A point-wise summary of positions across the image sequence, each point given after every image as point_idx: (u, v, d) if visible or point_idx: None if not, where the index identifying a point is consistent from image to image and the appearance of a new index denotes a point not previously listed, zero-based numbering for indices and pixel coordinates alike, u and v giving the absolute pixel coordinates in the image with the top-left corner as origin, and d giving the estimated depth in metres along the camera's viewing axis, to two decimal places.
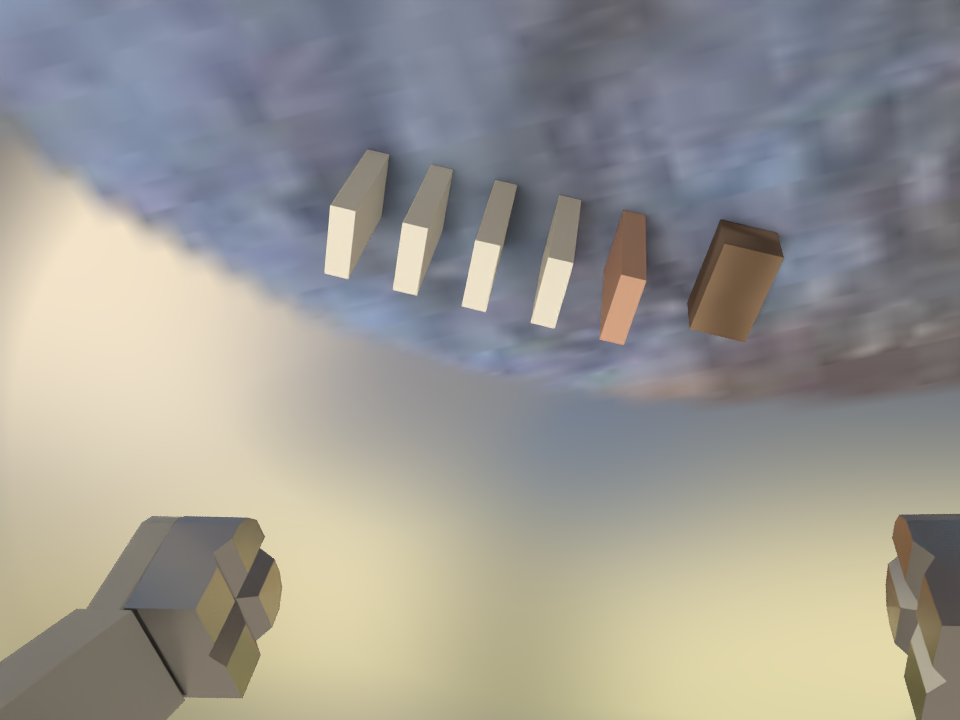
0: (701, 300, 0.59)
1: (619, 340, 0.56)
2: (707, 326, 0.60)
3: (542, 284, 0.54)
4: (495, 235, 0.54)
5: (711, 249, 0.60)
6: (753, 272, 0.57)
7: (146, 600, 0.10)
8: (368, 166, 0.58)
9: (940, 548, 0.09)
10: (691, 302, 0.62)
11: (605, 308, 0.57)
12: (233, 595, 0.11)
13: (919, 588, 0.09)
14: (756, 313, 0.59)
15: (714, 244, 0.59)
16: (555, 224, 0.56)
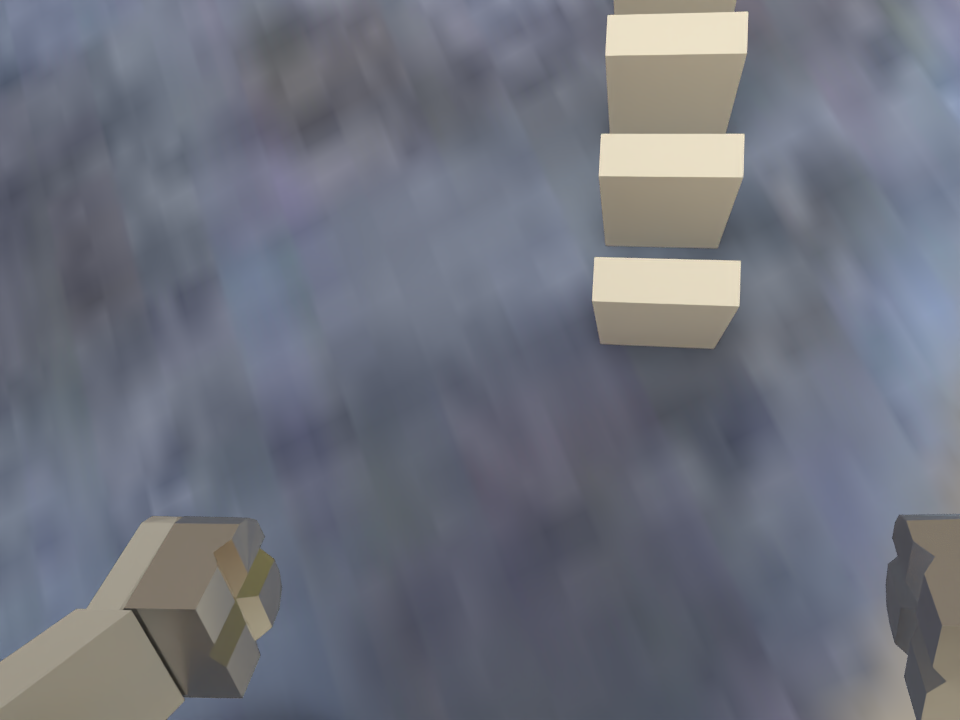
0: None
1: None
2: None
3: None
4: None
5: None
6: None
7: (146, 600, 0.10)
8: None
9: (940, 548, 0.09)
10: None
11: None
12: (233, 595, 0.11)
13: (919, 588, 0.09)
14: None
15: None
16: (614, 4, 0.37)
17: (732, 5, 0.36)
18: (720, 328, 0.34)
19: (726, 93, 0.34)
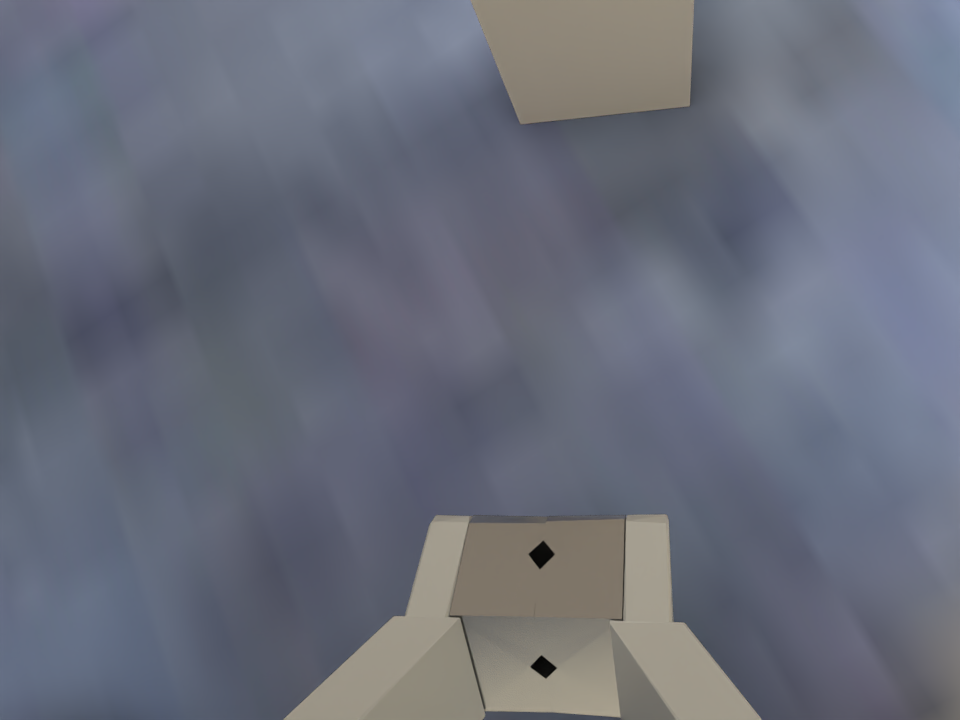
0: None
1: None
2: None
3: None
4: None
5: None
6: None
7: (471, 606, 0.09)
8: None
9: (563, 547, 0.10)
10: None
11: None
12: None
13: None
14: None
15: None
16: None
17: None
18: (684, 16, 0.20)
19: None
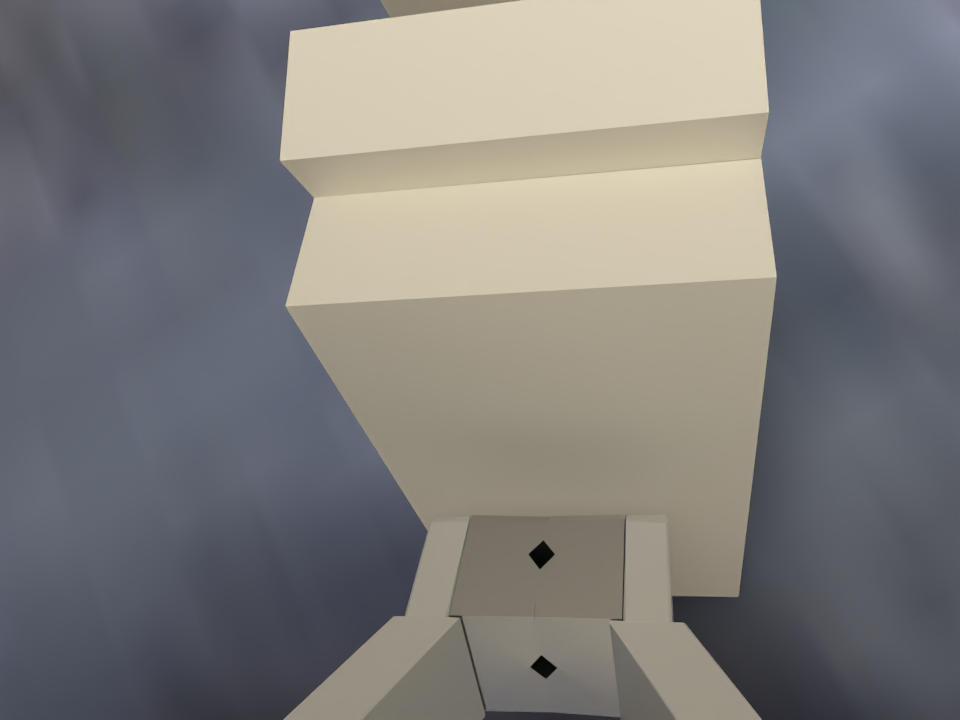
0: None
1: None
2: None
3: None
4: None
5: None
6: None
7: (471, 606, 0.09)
8: None
9: (563, 547, 0.10)
10: None
11: None
12: None
13: None
14: None
15: None
16: None
17: None
18: (736, 476, 0.12)
19: None
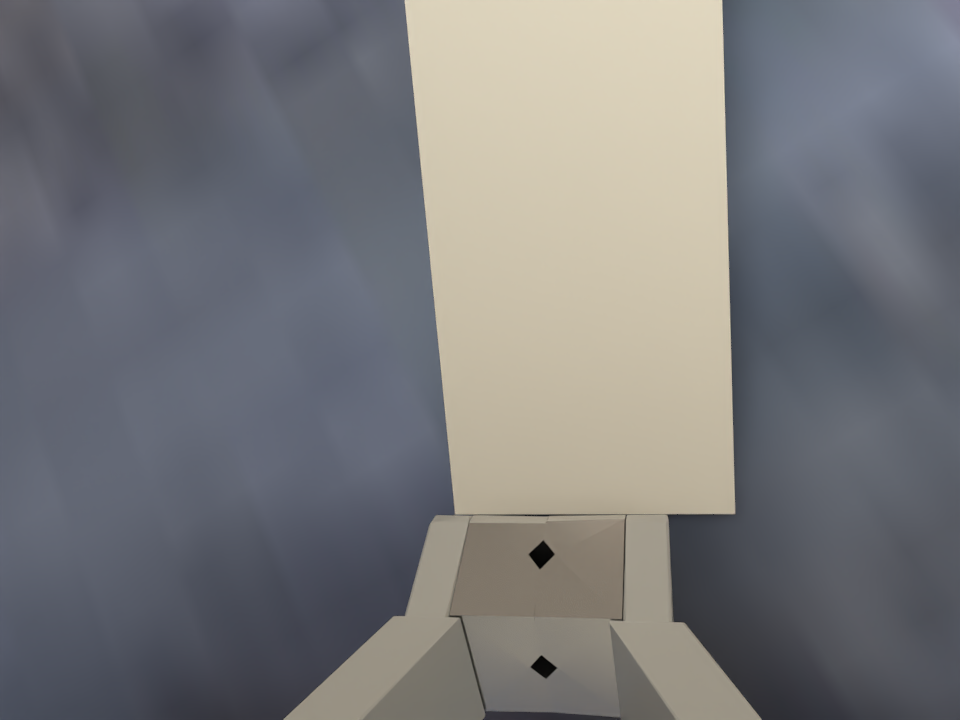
0: None
1: None
2: None
3: None
4: None
5: None
6: None
7: (471, 606, 0.09)
8: None
9: (563, 547, 0.10)
10: None
11: None
12: None
13: None
14: None
15: None
16: None
17: None
18: (714, 235, 0.14)
19: None
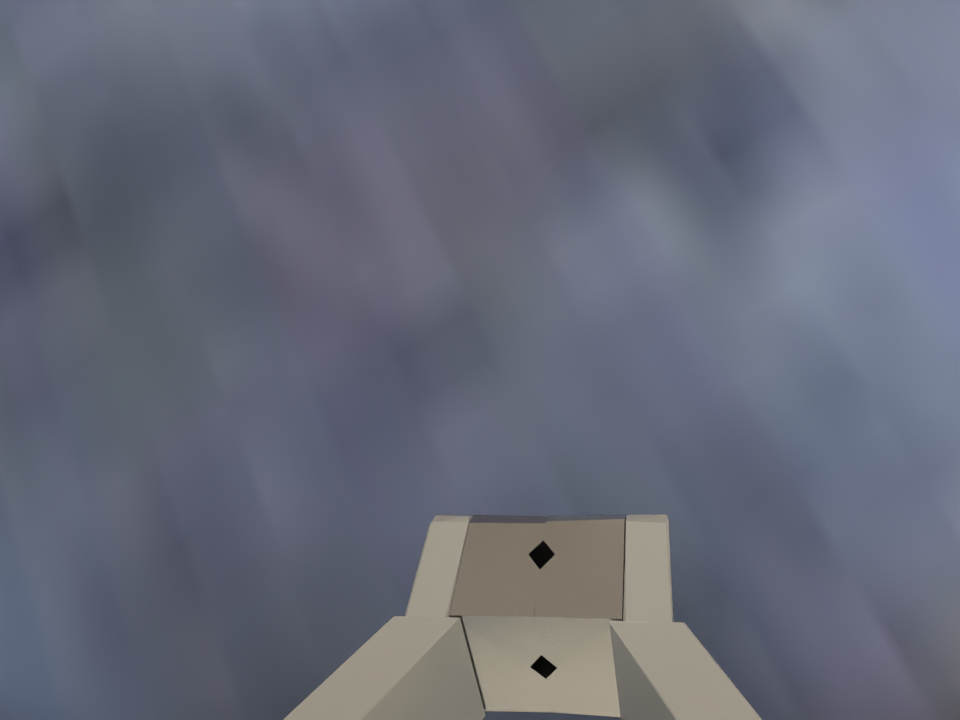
0: None
1: None
2: None
3: None
4: None
5: None
6: None
7: (471, 606, 0.09)
8: None
9: (563, 547, 0.10)
10: None
11: None
12: None
13: None
14: None
15: None
16: None
17: None
18: None
19: None
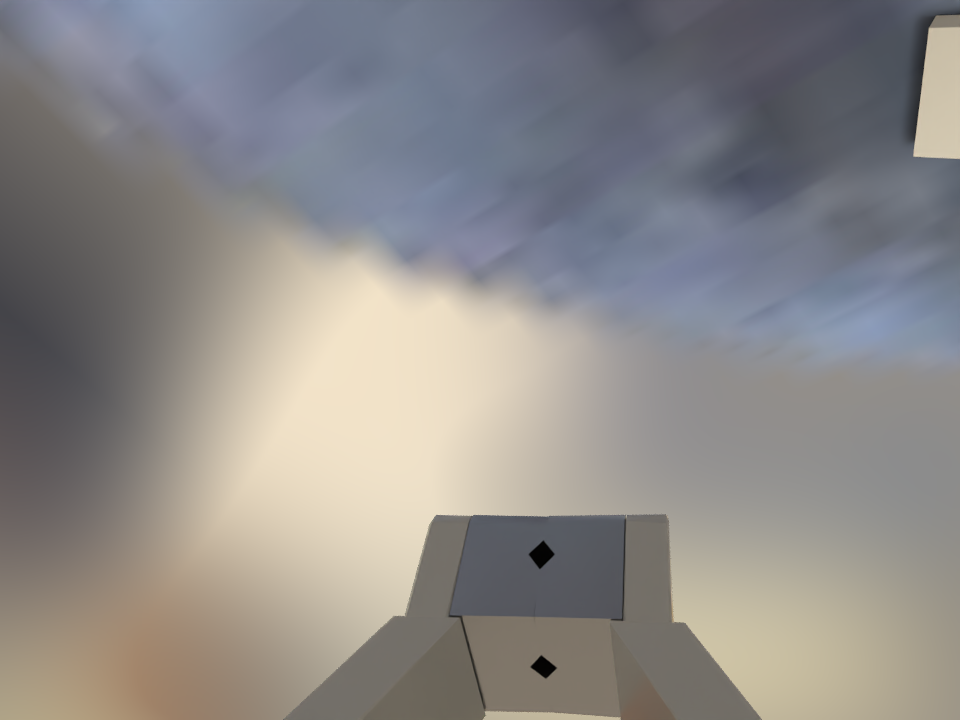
0: None
1: None
2: None
3: None
4: None
5: None
6: None
7: (472, 607, 0.09)
8: None
9: (563, 547, 0.10)
10: None
11: None
12: None
13: None
14: None
15: None
16: None
17: None
18: None
19: None
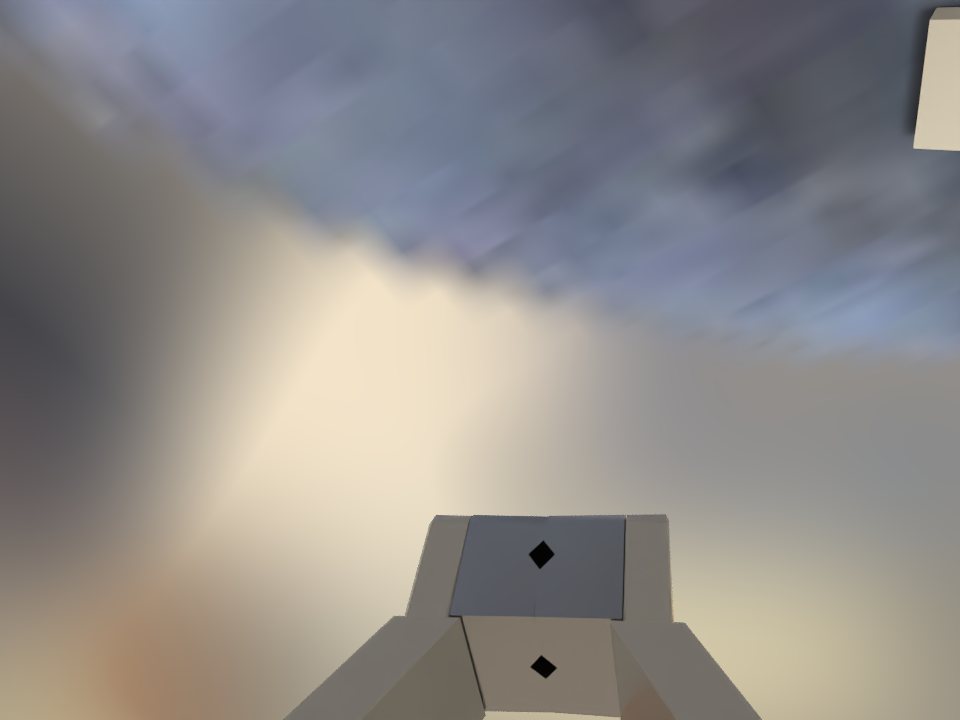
0: None
1: None
2: None
3: None
4: None
5: None
6: None
7: (471, 607, 0.09)
8: None
9: (563, 547, 0.10)
10: None
11: None
12: None
13: None
14: None
15: None
16: None
17: None
18: None
19: None
